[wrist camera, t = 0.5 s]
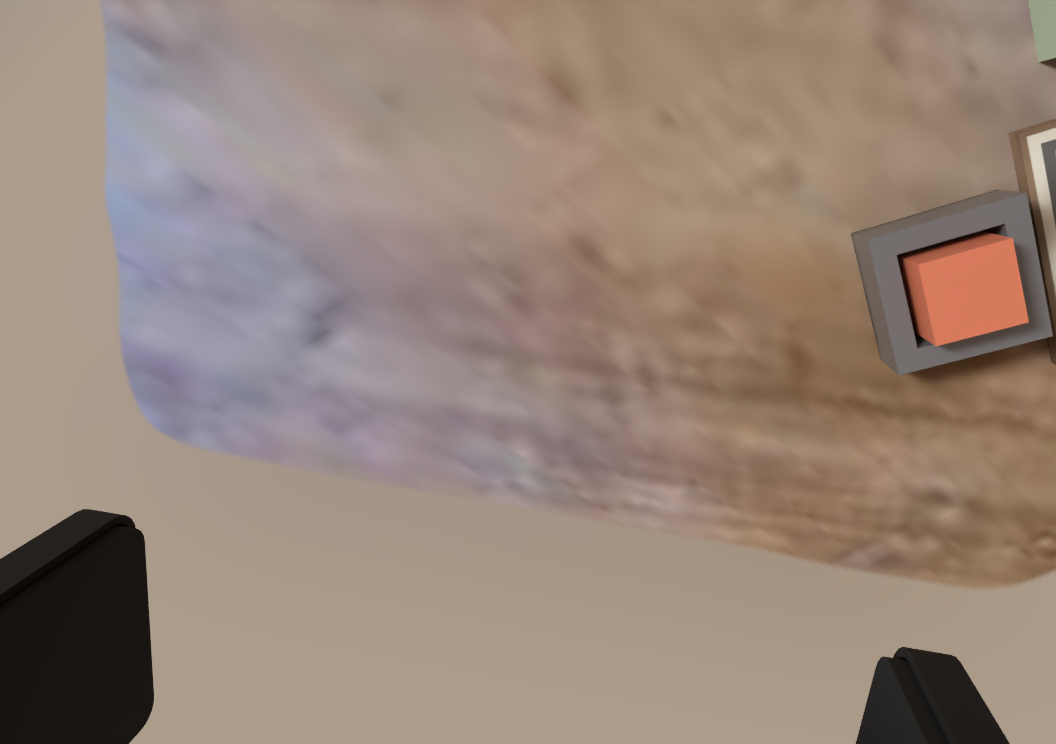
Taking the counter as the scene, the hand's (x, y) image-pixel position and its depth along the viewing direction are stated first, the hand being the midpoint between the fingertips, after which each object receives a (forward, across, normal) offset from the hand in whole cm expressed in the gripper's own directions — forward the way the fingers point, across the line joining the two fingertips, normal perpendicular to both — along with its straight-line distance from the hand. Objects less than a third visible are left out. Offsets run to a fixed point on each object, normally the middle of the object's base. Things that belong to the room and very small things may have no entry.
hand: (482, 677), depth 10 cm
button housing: (+34, -16, -2) cm, 38 cm away
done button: (+33, -16, -2) cm, 36 cm away
